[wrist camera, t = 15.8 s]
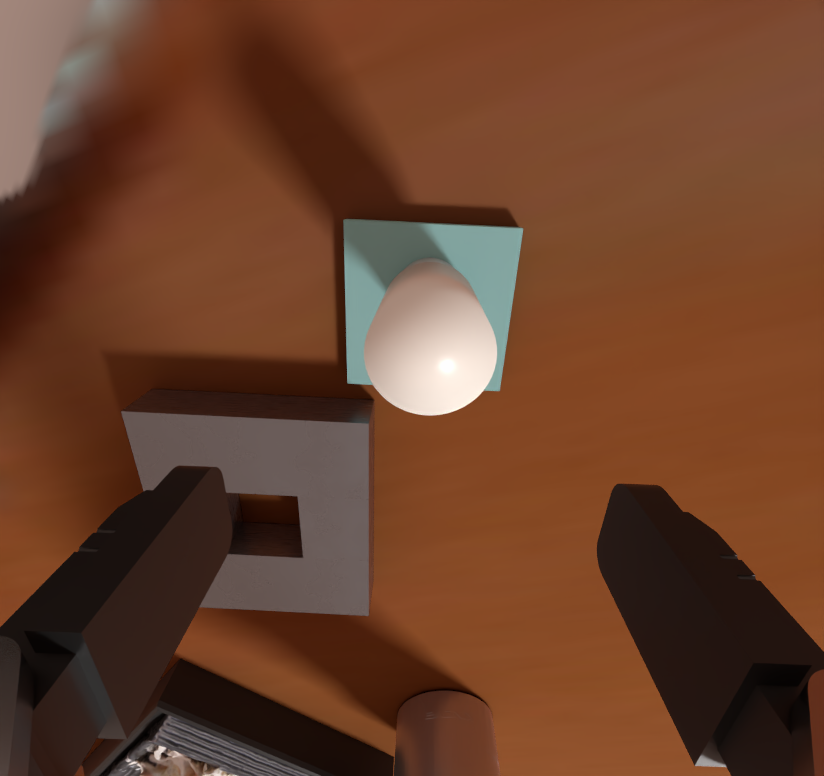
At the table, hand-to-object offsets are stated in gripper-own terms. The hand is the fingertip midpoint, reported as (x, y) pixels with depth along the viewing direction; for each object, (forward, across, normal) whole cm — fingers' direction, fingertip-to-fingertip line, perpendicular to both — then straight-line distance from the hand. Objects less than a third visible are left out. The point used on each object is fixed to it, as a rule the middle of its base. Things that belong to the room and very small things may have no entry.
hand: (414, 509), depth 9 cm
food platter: (+18, +24, +58) cm, 65 cm away
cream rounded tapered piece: (+16, -1, -1) cm, 16 cm away
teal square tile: (+17, 0, 0) cm, 17 cm away
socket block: (+17, +10, +14) cm, 24 cm away
